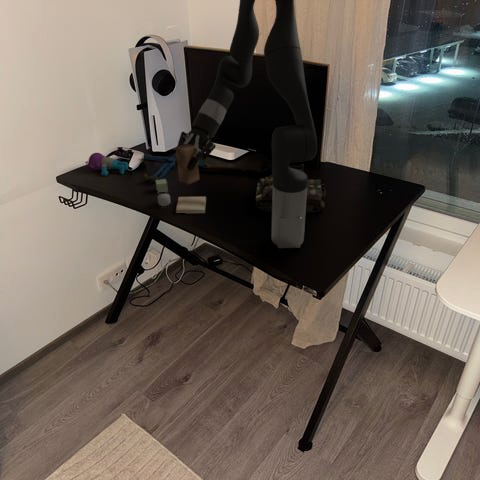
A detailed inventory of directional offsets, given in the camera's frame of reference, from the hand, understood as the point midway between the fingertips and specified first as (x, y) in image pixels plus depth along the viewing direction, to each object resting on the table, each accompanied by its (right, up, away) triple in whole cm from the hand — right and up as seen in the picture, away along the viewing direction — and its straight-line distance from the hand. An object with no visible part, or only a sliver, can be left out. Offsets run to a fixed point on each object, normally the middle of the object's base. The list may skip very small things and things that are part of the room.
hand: (183, 167), depth 139 cm
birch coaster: (+2, -11, +9) cm, 15 cm away
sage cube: (-10, -5, +19) cm, 22 cm away
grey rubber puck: (-8, -11, +11) cm, 17 cm away
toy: (-33, +4, +35) cm, 48 cm away
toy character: (-10, +4, +33) cm, 35 cm away
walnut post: (+1, -3, +4) cm, 6 cm away
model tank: (+34, -11, +10) cm, 37 cm away
